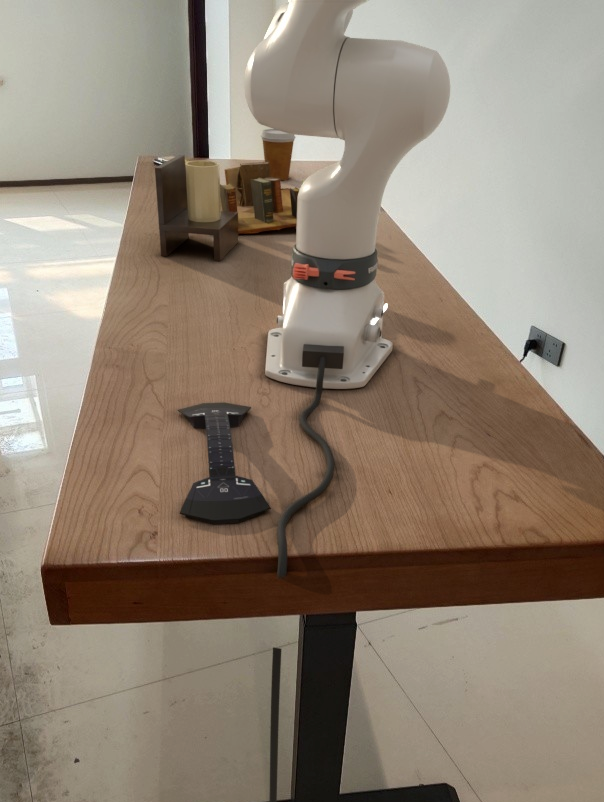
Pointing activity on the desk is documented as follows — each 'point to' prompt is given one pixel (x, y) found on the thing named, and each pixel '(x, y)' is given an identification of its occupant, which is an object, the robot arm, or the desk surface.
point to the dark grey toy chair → (176, 216)
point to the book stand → (258, 199)
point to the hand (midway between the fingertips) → (285, 74)
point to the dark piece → (221, 470)
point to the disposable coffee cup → (278, 152)
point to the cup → (203, 191)
